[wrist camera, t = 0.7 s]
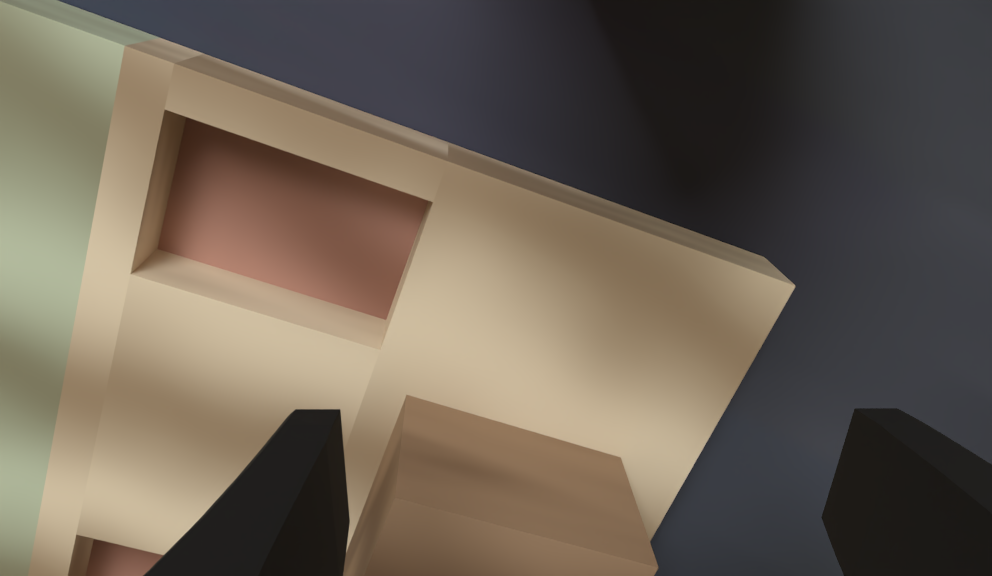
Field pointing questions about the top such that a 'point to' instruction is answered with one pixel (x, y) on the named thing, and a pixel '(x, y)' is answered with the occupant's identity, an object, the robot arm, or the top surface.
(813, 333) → the top surface
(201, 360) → the trap deck
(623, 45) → the top surface
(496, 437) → the walnut block
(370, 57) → the top surface
